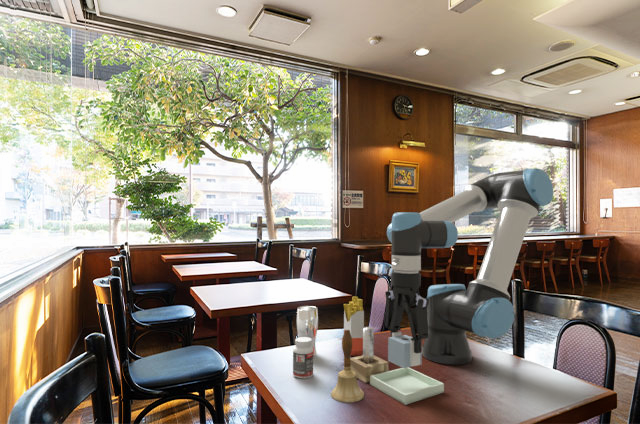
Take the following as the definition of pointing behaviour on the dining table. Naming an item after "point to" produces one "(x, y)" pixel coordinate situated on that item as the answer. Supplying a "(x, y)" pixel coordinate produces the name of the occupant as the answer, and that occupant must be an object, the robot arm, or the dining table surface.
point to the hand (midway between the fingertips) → (405, 360)
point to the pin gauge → (368, 345)
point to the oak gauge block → (368, 367)
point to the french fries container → (355, 324)
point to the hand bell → (347, 376)
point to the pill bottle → (303, 358)
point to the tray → (406, 385)
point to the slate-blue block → (400, 351)
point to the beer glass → (307, 323)
